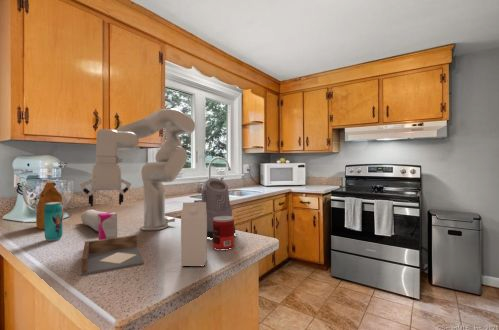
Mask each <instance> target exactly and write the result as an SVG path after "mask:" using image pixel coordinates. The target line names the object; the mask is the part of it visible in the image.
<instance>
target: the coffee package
mask: <svg viewBox="0 0 499 330" xmlns="http://www.w3.org/2000/svg"><path fill="white" fill-rule="evenodd" d="M55 186H57V183H56V182H51V181H49V180H48V181H46V182H45V185H44V187H43V188H42V191H41V192H40V195H39V197H38V202H37V205H36V216H35V217H36V220H35V221H36V224H35V225H36V227H37V229H38V230H45V215H44V207H45V205H46V204H45V203H49V202H61V204H62V221H63V218H64V209H63V208H64V207H63V206H64V205H63V202H64V201H63V196H62V195H61V193H60V192H59V190H57V188H56V187H55Z"/></svg>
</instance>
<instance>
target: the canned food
mask: <svg viewBox="0 0 499 330" xmlns="http://www.w3.org/2000/svg"><path fill="white" fill-rule="evenodd" d="M234 226H235V217H234V216H233V215H232V216H217V217H214V218H213V240H212V246H213V249H214V248H216V249H229V248H232V247H233V248H234V247H235V237H234ZM233 248H232V249H233Z"/></svg>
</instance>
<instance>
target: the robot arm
mask: <svg viewBox="0 0 499 330" xmlns="http://www.w3.org/2000/svg"><path fill="white" fill-rule="evenodd" d="M162 129H165V135H166V139H165V141H164V143H163V144H162V145H161V147H160V148H159V149H158V151H157V152H156V154H155V161H150V162H146V163H145V164H144V165H143V166H142V167H141V170H140V171H141V173H140V174H141V179H142V183H143V184H142V185H143V223H142V224H141V225H140V227H139V228H140V230H143V231H159V230H163V229H166V228H168V227H169V223H174V222H176V218H175V217H166V216H165V215H166V211H165V210H166V203H165V202H166V198H165V197H166V194H165V193H166V192H165V191H166V190H165V187H164V184H163V183H172V182H174V181H175V180H176V179H177V178H178V177H179V174H180V173H181V171H182V170H183V168H184V166H185V164H186V163H187V160H188V152H187V150H186V149H185V148H184V147H182V141H181V139H180V135H188V134H189V135H190V134H192V133H193V132H194V131H195V129H196V124H195V121H194V119H193V118H192V117H191V116H189V115H187V114H186V113H184V112H183V111H180V110H179V109H176V108H164V109H158V110H156V111H154V112H151V113H150V114H148V115H147V116H144V117H143V118H140V119H137V120H136V121H132V122H131V123H127V124H125V125H122V126H120V127H118V128H116V129H109V128H102V129H98V130H97V131H96V137H95V138H96V142H95V143H96V145H95V146H96V147H95V148H96V149H95V164H93V167H92V172H91V179H89V180H87V181H84V182H82V183H80V184H79V185H80V188H81V189H82V192H84V193H85V194H86V195H87V196H88V205H90V207H93V206H94V195H93V194H94V193H95V191H118V192H119V194H118V205H120V206H122V203H124V195H125V194H126V193H127V191H129V189H130V187H131V185H132V183H131V182H129V181H127V180H124V179H122V172H121V171H122V170H121V165H120V164H119V163H123V158H119V151H120V150H121V151H124V150H125V151H127V150H128V151H130V150H133V149H136V148H137V147H138V145H139V143H140V139H144V138H148V137H151V136H153V135H154V134H156V133H158V132H159V131H161V130H162ZM89 184H91V190H89V189H88V188H87V187H86V186H88V185H89ZM122 184H124V185H125V187H124V188H123V189H122Z"/></svg>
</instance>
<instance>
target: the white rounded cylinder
mask: <svg viewBox="0 0 499 330" xmlns="http://www.w3.org/2000/svg"><path fill="white" fill-rule="evenodd" d="M108 212H109V211H98V210H95V209H87V210H85V211H84V212H82V213H81V215H80V218H81V219H80V220H81V222H82V224H84V225H85V226H89V227H90V228H92V229H93V231H94V230H95V231H96V232H97V233H99V225H98V214H100V213H108Z"/></svg>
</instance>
